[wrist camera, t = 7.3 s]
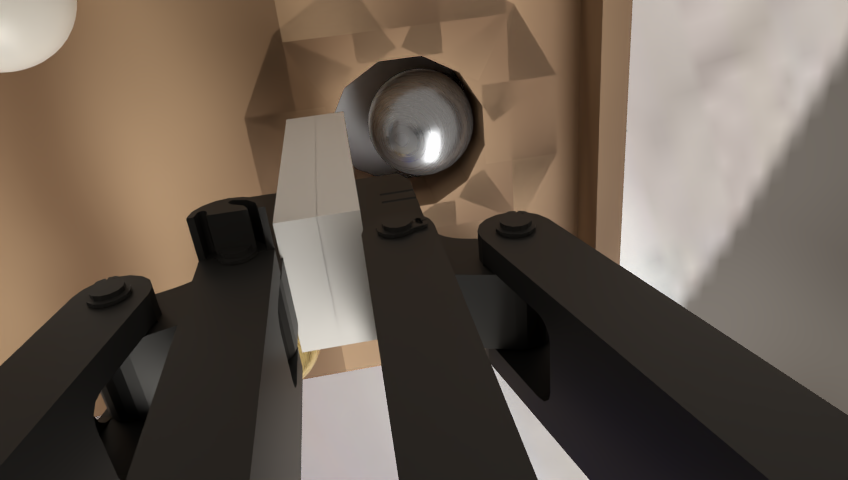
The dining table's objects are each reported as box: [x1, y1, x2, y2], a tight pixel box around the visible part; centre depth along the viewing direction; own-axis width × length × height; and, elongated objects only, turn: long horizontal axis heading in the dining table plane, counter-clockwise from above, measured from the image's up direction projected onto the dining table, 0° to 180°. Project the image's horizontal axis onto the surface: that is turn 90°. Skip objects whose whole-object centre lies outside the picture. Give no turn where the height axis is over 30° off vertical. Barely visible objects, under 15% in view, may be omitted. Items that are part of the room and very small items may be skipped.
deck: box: [0, 0, 633, 417], centre depth 18 cm, size 24×16×4 cm, turn 96°
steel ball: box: [368, 69, 473, 175], centre depth 19 cm, size 3×3×3 cm
